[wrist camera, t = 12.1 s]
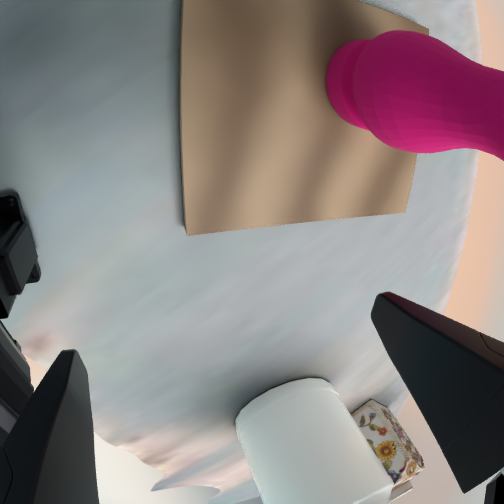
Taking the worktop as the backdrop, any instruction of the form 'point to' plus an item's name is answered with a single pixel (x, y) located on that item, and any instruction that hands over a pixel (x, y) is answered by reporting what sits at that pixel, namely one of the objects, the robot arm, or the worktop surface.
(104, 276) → the worktop surface
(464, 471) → the robot arm
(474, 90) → the pepper mill
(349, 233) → the worktop surface
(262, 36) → the tan cloth
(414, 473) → the decorative jar
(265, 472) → the bottle
